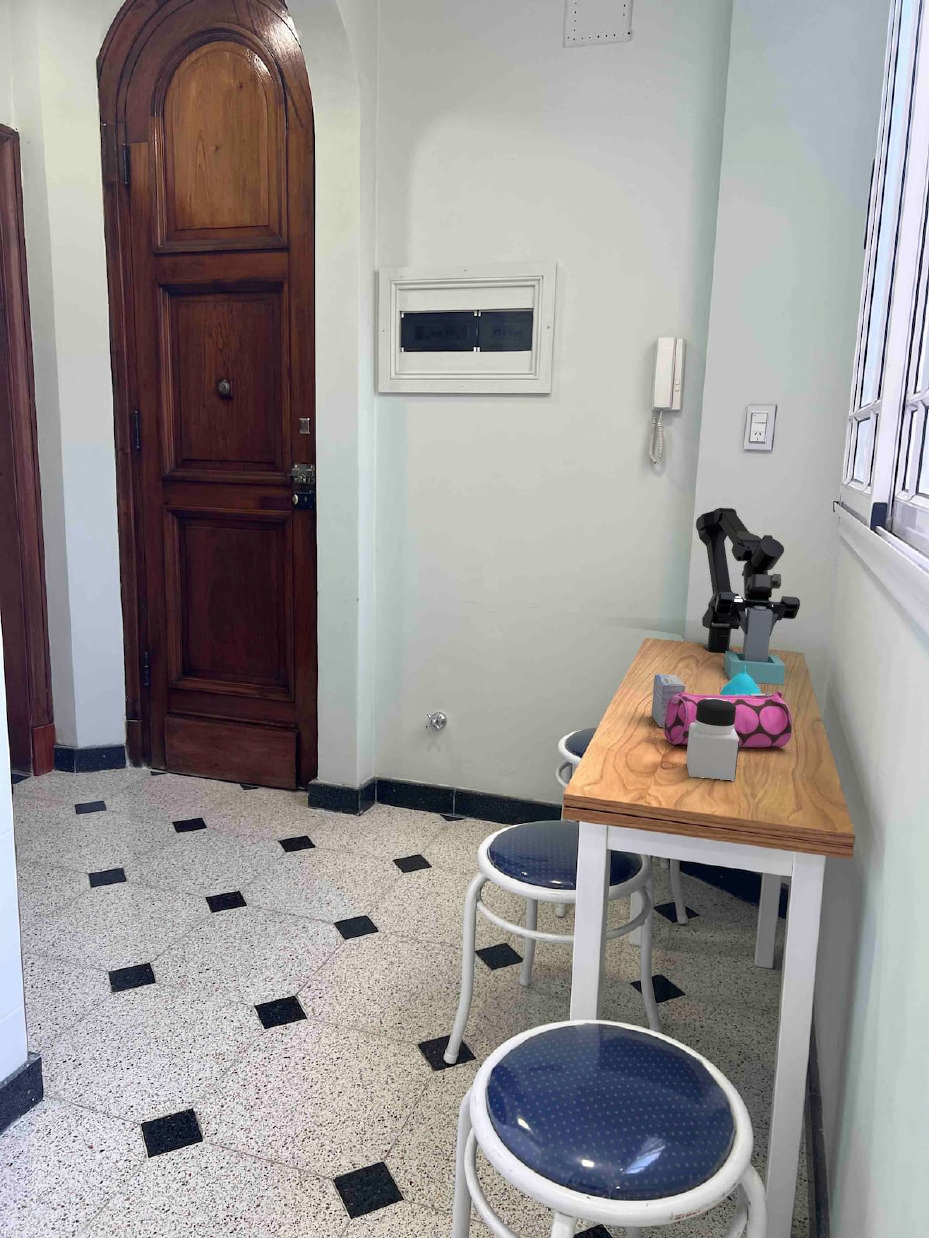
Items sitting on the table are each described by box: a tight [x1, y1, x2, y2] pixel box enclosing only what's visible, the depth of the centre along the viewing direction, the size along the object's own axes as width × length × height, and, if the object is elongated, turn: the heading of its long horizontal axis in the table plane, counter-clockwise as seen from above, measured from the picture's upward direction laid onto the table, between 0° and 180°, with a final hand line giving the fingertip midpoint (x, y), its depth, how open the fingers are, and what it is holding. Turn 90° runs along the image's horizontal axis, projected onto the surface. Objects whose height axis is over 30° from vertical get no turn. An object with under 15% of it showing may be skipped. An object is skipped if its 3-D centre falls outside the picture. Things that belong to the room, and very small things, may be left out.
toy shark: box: [719, 665, 762, 695], centre depth 175 cm, size 10×18×11 cm, turn 172°
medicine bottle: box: [685, 698, 740, 782], centre depth 142 cm, size 7×7×12 cm
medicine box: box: [651, 673, 686, 729], centre depth 169 cm, size 8×4×9 cm, turn 179°
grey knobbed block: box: [741, 606, 773, 663], centre depth 208 cm, size 5×5×13 cm
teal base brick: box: [723, 650, 786, 686], centre depth 210 cm, size 12×12×4 cm
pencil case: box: [663, 690, 793, 749], centre depth 157 cm, size 21×10×10 cm, turn 99°
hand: (758, 634), depth 207 cm, fingers closed on grey knobbed block, 5 cm apart
